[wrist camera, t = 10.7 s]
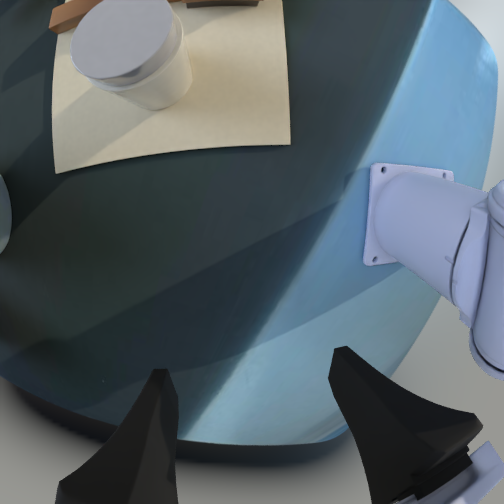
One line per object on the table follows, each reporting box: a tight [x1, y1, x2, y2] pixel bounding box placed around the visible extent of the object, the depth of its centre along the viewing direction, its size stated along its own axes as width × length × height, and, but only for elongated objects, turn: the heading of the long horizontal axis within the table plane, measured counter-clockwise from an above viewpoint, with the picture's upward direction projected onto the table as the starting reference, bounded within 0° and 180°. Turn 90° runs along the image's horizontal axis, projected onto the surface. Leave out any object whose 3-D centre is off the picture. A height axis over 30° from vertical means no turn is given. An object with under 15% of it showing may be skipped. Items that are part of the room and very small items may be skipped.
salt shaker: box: [70, 0, 193, 110], centre depth 10 cm, size 4×4×8 cm
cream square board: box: [52, 0, 290, 174], centre depth 12 cm, size 16×16×1 cm
